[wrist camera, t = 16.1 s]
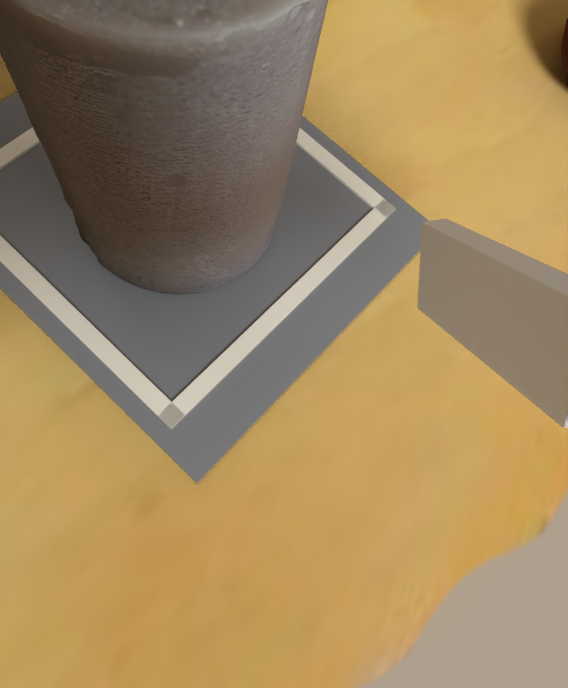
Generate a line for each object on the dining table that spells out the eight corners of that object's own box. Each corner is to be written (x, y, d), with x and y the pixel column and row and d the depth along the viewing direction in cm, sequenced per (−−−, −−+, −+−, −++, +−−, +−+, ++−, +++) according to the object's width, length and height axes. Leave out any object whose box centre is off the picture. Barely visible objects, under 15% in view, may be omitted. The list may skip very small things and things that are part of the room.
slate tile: (-102, 187, 25) (-116, 172, 24) (164, 15, 30) (162, -4, 29) (197, 484, 22) (196, 482, 21) (431, 239, 28) (440, 227, 27)
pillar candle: (35, 245, 24) (-222, -149, 10) (135, 92, 27) (51, -371, 13) (234, 329, 24) (268, 58, 10) (309, 166, 27) (417, -216, 13)
